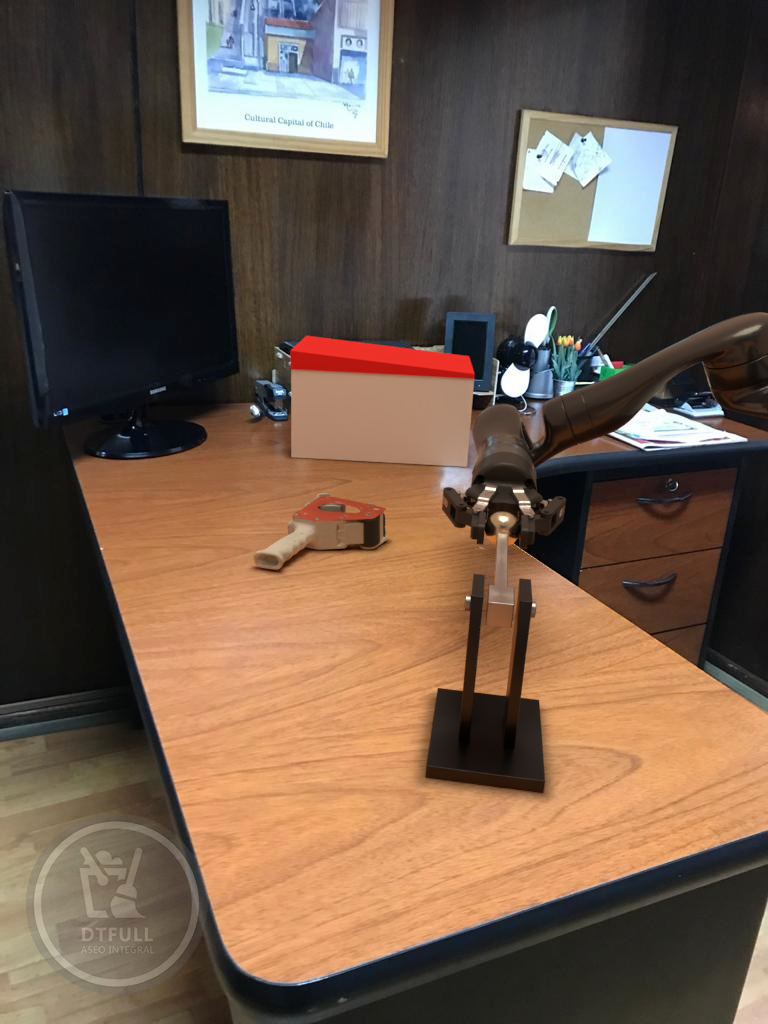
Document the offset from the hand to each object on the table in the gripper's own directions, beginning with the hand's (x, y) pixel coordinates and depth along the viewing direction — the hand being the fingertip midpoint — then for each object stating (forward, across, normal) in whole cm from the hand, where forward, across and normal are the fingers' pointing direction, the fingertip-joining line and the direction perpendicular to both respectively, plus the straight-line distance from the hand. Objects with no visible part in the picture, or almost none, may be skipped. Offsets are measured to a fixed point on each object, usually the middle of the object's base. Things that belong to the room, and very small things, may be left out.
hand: (502, 537), depth 76 cm
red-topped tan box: (-83, +25, -17) cm, 88 cm away
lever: (+4, 0, -3) cm, 5 cm away
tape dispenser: (-30, +25, -16) cm, 42 cm away
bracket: (+11, 0, -16) cm, 19 cm away
